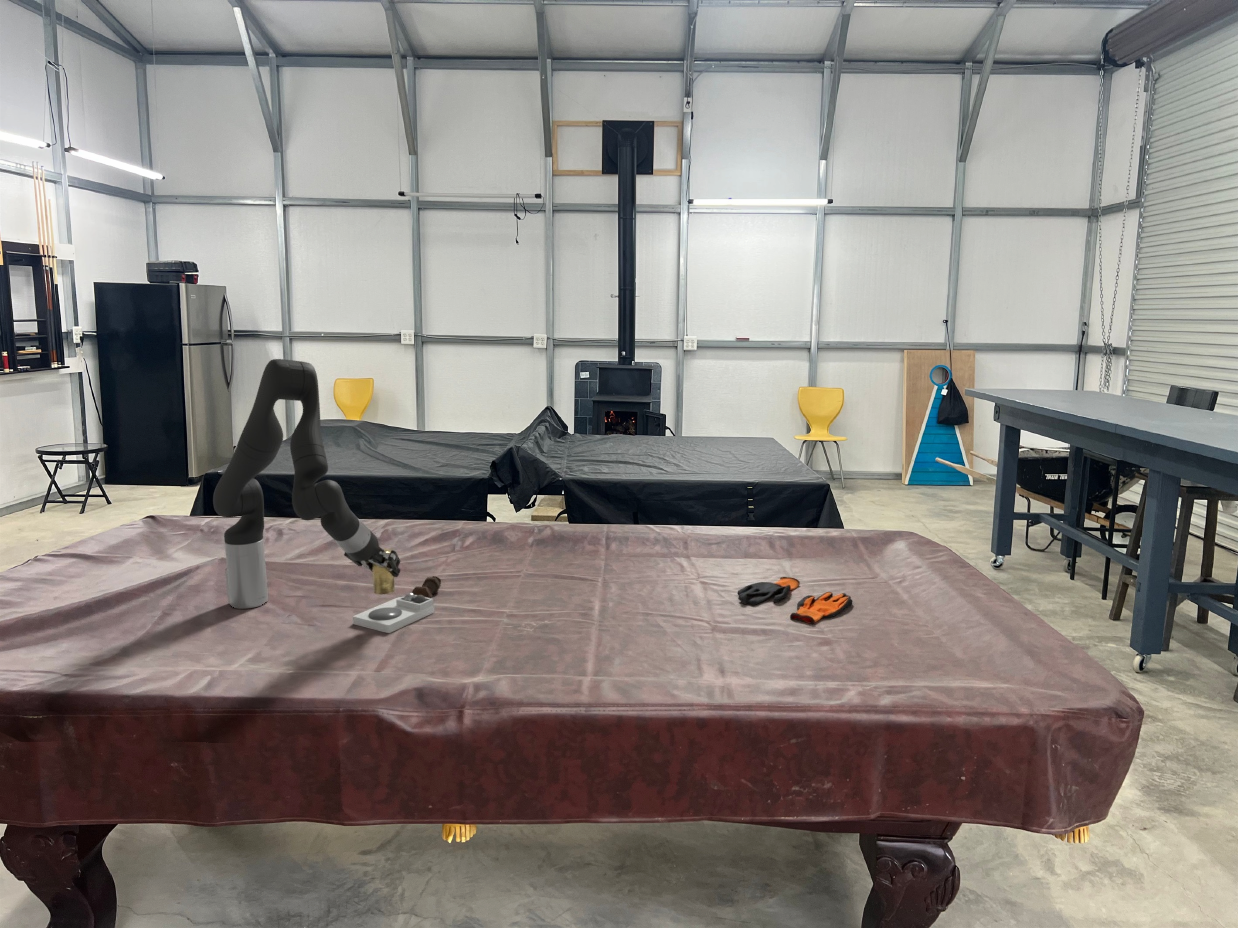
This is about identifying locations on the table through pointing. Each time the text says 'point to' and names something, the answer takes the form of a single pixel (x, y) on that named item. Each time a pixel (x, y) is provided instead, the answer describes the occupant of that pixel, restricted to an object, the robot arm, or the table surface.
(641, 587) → the table surface
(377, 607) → the plate
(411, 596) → the steel ball
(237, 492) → the robot arm
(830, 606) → the pair of gloves
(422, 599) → the rubber ball
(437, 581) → the bolt
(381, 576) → the ball
